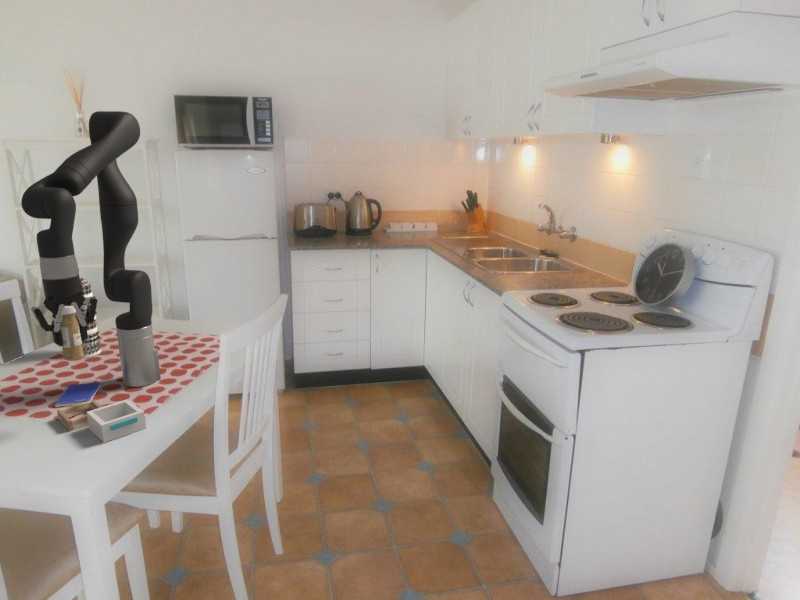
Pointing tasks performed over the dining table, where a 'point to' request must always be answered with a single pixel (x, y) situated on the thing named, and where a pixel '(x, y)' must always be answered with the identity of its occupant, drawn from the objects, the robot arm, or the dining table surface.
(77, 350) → the sprinkles bottle
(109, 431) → the block
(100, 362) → the dining table surface
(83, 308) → the decorative candle
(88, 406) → the wooden square frame
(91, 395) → the hard drive
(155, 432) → the dining table surface
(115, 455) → the dining table surface
